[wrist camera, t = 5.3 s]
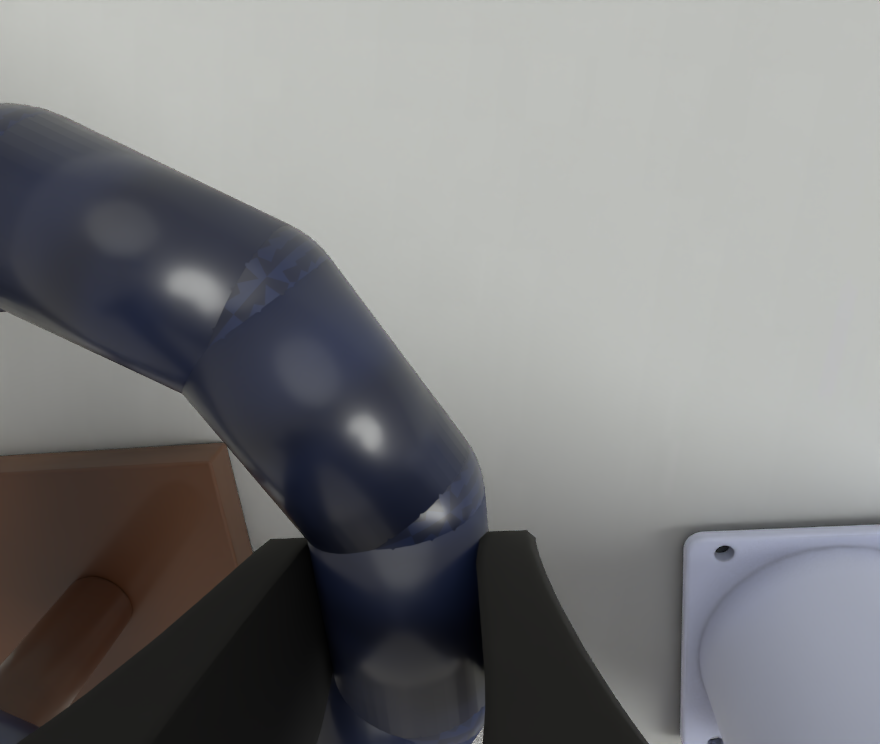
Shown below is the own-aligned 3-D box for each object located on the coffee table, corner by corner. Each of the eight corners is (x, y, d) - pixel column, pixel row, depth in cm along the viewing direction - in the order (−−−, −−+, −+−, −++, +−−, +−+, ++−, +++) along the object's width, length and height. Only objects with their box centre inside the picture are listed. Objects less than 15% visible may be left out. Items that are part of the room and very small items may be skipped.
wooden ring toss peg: (226, 440, 20) (100, 599, 14) (286, 685, 23) (206, 902, 17) (-62, 458, 21) (-300, 612, 15) (33, 689, 24) (-129, 895, 18)
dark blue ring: (459, 55, 8) (428, 44, 6) (523, 839, 13) (518, 991, 11) (-430, 158, 11) (-688, 177, 8) (-96, 796, 15) (-204, 915, 13)
